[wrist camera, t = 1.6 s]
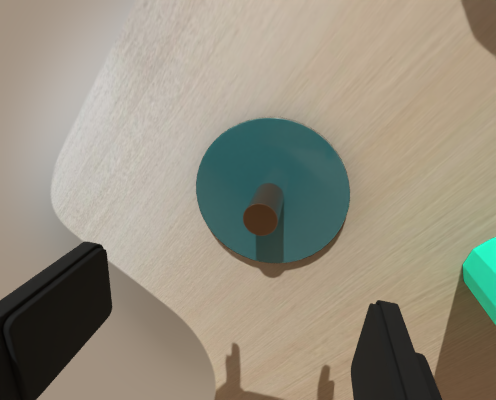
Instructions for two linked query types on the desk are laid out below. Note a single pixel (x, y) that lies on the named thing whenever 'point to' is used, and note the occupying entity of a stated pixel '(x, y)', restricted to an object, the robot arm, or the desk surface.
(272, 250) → the lid
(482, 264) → the candle
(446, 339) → the desk surface
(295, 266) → the desk surface
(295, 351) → the desk surface
